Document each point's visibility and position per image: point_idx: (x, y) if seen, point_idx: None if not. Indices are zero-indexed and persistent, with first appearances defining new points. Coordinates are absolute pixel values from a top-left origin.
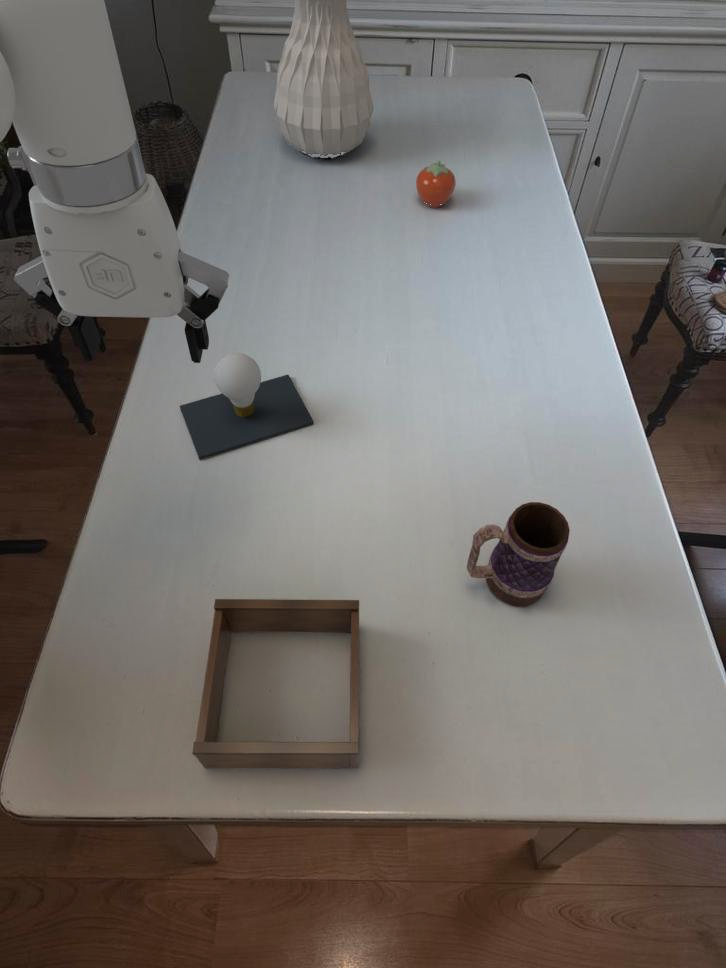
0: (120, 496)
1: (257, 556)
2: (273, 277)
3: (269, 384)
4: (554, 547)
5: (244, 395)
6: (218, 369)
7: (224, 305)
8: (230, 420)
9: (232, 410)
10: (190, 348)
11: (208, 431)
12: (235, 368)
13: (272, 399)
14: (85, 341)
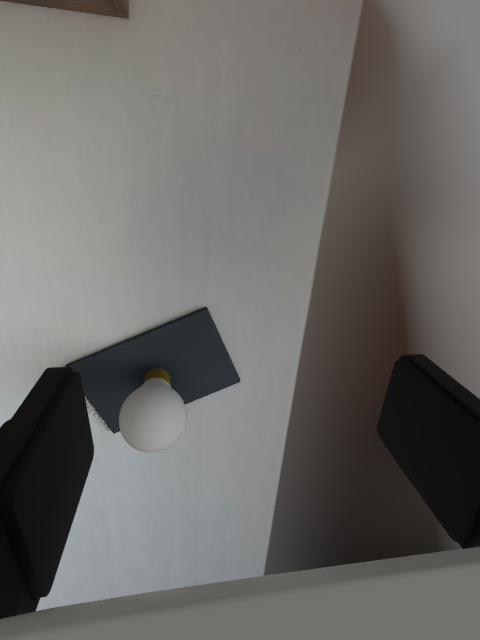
0: (295, 252)
1: (102, 146)
2: (158, 553)
3: None
4: None
5: (140, 388)
6: (176, 423)
7: (208, 513)
8: (175, 364)
9: (175, 378)
10: (49, 411)
11: (200, 347)
12: (147, 426)
13: (126, 397)
14: (452, 405)
